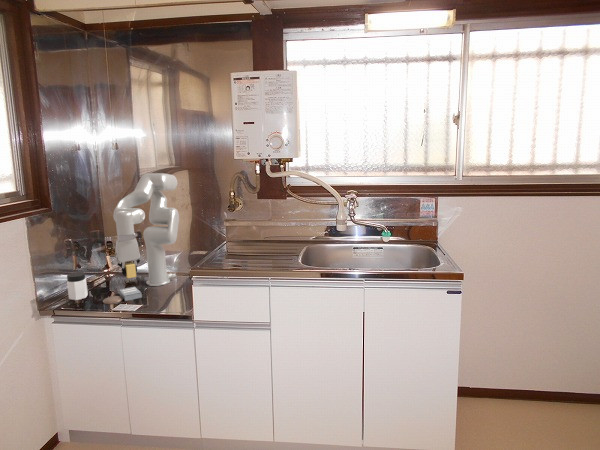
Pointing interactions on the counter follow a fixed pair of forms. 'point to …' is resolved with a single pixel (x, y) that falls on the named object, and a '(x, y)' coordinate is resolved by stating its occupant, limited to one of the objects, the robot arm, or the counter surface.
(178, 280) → the counter surface
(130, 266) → the stub
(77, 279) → the jar
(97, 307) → the counter surface
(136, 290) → the gray flat block
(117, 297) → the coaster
